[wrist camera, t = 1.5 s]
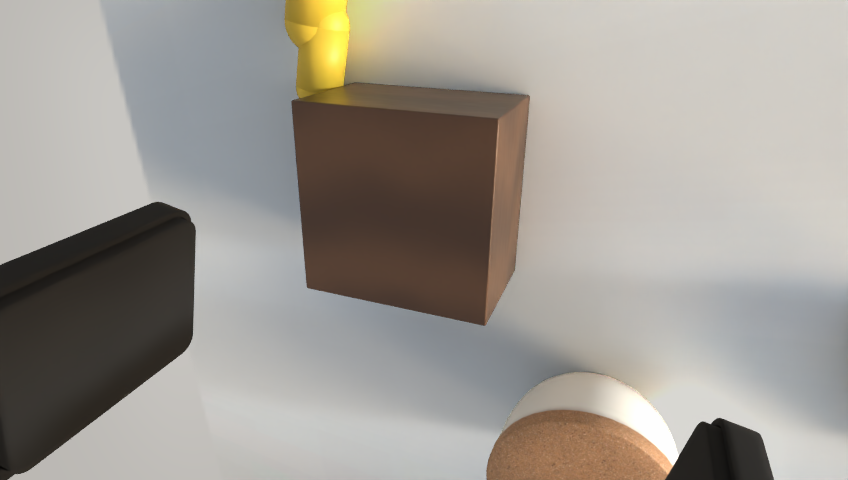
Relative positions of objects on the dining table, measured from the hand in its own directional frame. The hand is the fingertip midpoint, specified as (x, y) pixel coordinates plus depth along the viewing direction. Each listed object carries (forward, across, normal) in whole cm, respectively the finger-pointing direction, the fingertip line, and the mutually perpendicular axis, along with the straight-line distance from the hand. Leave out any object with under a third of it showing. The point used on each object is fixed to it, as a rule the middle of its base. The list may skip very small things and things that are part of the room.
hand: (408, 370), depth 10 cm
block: (+24, +7, +6) cm, 26 cm away
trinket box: (+25, -8, +18) cm, 31 cm away
